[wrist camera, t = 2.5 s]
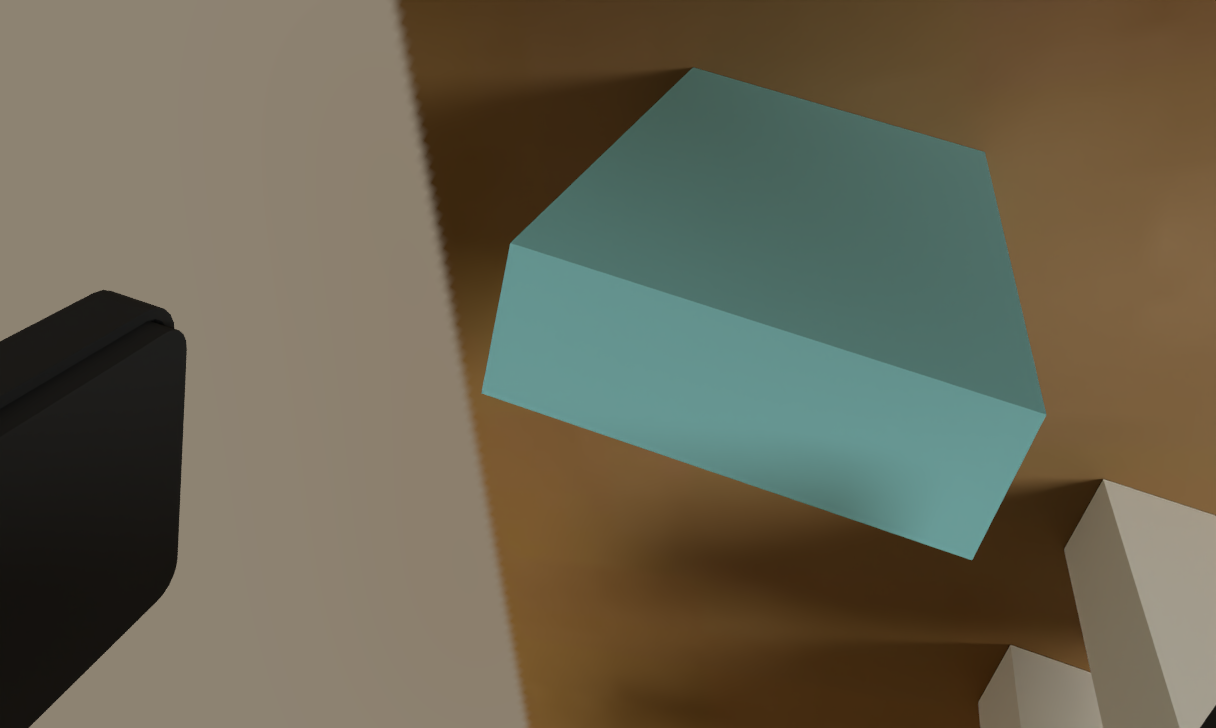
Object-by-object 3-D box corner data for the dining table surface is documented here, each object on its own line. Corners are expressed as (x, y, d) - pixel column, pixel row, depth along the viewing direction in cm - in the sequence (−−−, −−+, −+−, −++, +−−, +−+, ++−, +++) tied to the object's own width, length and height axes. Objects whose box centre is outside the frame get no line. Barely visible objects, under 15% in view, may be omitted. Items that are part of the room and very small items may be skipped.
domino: (693, 67, 21) (509, 243, 12) (984, 152, 20) (1046, 413, 11) (668, 160, 22) (481, 393, 13) (946, 244, 21) (971, 559, 12)
